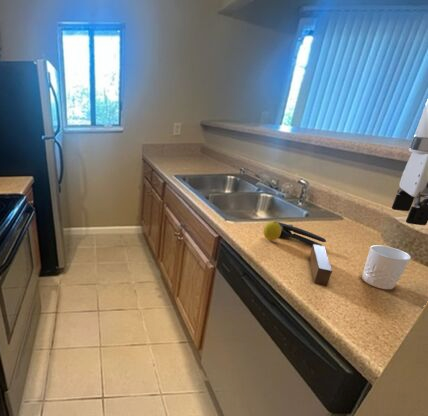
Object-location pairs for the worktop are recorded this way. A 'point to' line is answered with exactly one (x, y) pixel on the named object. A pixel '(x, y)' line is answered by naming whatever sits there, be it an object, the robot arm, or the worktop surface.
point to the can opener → (287, 233)
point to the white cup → (384, 266)
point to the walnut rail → (320, 265)
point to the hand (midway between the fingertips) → (407, 216)
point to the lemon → (272, 231)
